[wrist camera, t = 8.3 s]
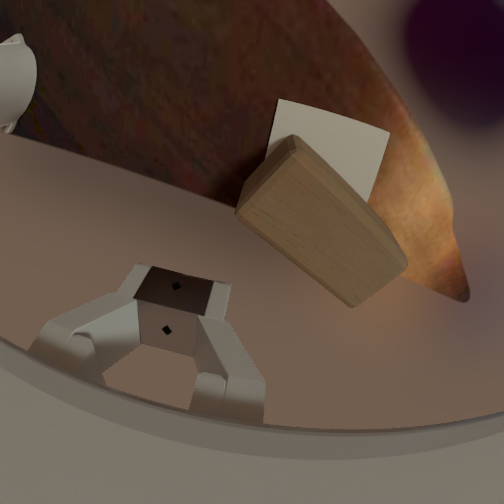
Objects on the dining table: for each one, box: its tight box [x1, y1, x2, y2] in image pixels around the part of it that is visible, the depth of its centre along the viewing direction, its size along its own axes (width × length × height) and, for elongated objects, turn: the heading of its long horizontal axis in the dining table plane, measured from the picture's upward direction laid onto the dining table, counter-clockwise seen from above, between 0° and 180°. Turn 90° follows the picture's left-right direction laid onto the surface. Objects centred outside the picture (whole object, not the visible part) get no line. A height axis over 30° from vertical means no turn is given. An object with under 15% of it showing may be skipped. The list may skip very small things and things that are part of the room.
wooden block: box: [235, 134, 408, 308], centre depth 35 cm, size 10×10×20 cm
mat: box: [265, 99, 390, 203], centre depth 36 cm, size 15×12×1 cm
